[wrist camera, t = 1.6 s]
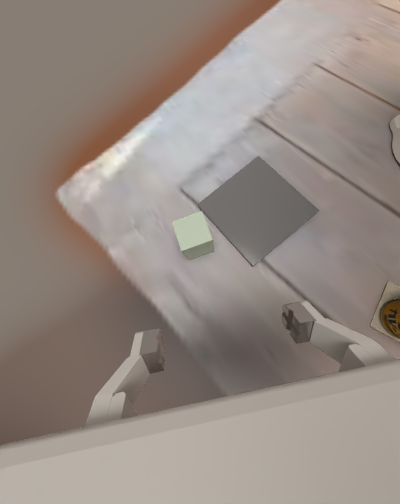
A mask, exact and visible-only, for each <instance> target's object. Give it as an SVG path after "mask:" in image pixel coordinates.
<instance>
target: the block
mask: <svg viewBox="0 0 400 504" xmlns="http://www.w3.org/2000/svg"><path fill="white" fill-rule="evenodd" d="M172 224H173V227H174V230H175V233H176V236H177V239H178V242H179V246H180V249H181V251H182V252H183V253H184V255H185V256H186V257H187V258H188V259H189V260H191V259H194V258H196V257H199V256H202V255H205V254H208V253H210V252H213V251H214V246H213V239H212V236H211V233H210V231H209V228H208V225H207V223H206V220H205V217H204V215H203V212H202V211H200V212H197V213H194V214H191V215H189V216H186V217H183V218H180V219H178V220H175V221H172Z"/></svg>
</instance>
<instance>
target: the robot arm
mask: <svg viewBox="0 0 400 504" xmlns="http://www.w3.org/2000/svg"><path fill="white" fill-rule="evenodd" d="M390 128H391V131H392V133H393V141H392V149H393V153H394V155H395V158H396V159H397V161H398V162H399V164H400V114H399V115H397V116H396V117H395V118H393V119H392V120H391V121H390ZM282 309H283V311H284V312H283V313H282V322H283V324H284V326H285V328H286V329H288V330H289V331H290V335H291V337H292V338H293V340H294V341H295V342H296V344H297V343H303V342H309V341H310V343H311V344H313V345H314V346H316V347H317V348H319V349H320V350H322V351H323V352H325V353H326V354H327V355H329V356H330V357H332V358H333V359H335V360H336V361H338V362H339V363H340V364H341V367H340V370H339V372H338V373H333V374H328V375H324V376H319V377H314V378H310V379H305V380H300V381H296V382H291V383H287V384H282V385H277V386H273V387H268V388H263V389H259V390H254V391H249V392H245V393H240V394H235V395H231V396H226V397H222V398H217V399H213V400H208V401H203V402H199V403H194V404H190V405H185V406H180V407H175V408H171V409H166V410H161V411H157V412H152V413H148V414H143V415H138V414H137V412H136V411H135V409H134V407H133V404H134V402H135V401H136V399H137V397H138V395H139V394H140V392H141V390H142V388H143V386H144V385H145V383H146V381H147V379H148V378H149V376H150V374H151V373H156V372H160V371H164V361H165V360H164V356H163V355H164V353H165V342H164V338H163V336H162V332H161V329H154V330H148V331H143V332H137V333H136V334H135V337H134V341H133V345H132V350H131V354H130V357H129V358H127V359H126V360H125V361H124V362H123V364H122V365H121V366H120V367H119V368H118V370H117V371H116V372H115V373H114V374H113V376H112V377H111V378H110V379H109V381H108V382H107V383H106V384H105V386H104V387H103V388H102V389H101V390H100V391H99V393H98V394H97V395H96V396H95V399H94V402H93V404H92V407H91V410H90V413H89V416H88V419H87V422H86V425H85V427H82V428H77V429H73V430H68V431H64V432H59V433H54V434H49V435H45V436H40V437H36V438H31V439H27V440H21V441H16V442H12V443H7V444H4V445H2V446H0V504H400V359H398V360H396V359H395V358H393V357H392V356H391V355H390V354H389V353H388V352H387V351H386V350H385V349H383V348H382V347H381V346H380V345H379V344H378V343H377V342H376V341H374V340H373V339H371V338H369V337H367V336H364V335H362V334H360V333H358V332H356V331H354V330H351V329H349V328H347V327H345V326H343V325H340V324H338V323H336V322H334V321H332V320H329V319H325V318H324V317H323V316H322V315H321V314H320V313H319V312H318V311H317V310H316V309H315V308H314V307H313V306H312V305H311V304H310V303H309V302H308V301H300V302H295V303H290V304H285V305H283V308H282Z"/></svg>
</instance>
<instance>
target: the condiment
mask: <svg viewBox="0 0 400 504" xmlns="http://www.w3.org/2000/svg"><path fill="white" fill-rule="evenodd" d="M396 297H398V298H396ZM394 298H396V299H394ZM370 327H372V328H374V329H376V330H378V331H380V332H382V333H383V334H385V335H387V336H389V337H391V338H393V339H395V340H397V341H399V342H400V286H398V285H396V284H394V283H392V282H390V281H388V282H387V285H386V287H385V291H384V293H383V295H382V298H381V300H380V302H379V304H378V306H377V309H376V311H375V314H374V316H373V319H372V321H371V324H370Z"/></svg>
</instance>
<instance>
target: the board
mask: <svg viewBox="0 0 400 504" xmlns="http://www.w3.org/2000/svg"><path fill="white" fill-rule="evenodd" d="M198 207H199V208H200V209H201V210H202V211H203V212H204V214H205V215H206V216H207V217H208V218H209V219H210V220H211V221H212V222H213V224H214V225H215V226H216V227H217V228H218V229H219V230H220V231H221V232H222V234H223V235H224V236H225V237H226V238H227V239H228V240H229V241H230V242H231V243H232V245H233V246H234V247H235V248H236V249H237V250H238V251H239V252H240V253H241V255H242V256H243V257H244V258H245V259H246V260H247V261H248V262H249V263H250V265H251V266H252V267H253V266H254V265H255V264H256V263H258V262H259V261H260V260H261V259H262V258H263V257H265V256H266V255H267V254H268V253H269V252H271V251H272V250H273V249H274V248H275V247H277V246H278V245H279V244H280V243H281V242H283V241H284V240H285V239H286V238H287V237H288V236H290V235H291V234H292V233H293V232H294V231H296V230H297V229H298V228H299V227H300V226H302V225H303V224H304V223H305V222H306V221H307V220H309V219H310V218H311V217H312V216H313V215H315V214H316V213H317V212H318V211H319V210H318V209H317V208H316V207H315V206H314V205H312V204H311V203H310V202H309V201H308V200H307V199H306V198H305V197H304V196H302V195H301V194H300V193H299V192H298V191H297V190H296V189H295V188H294V187H292V186H291V185H290V184H289V183H288V182H287V181H286V180H285V179H284V178H282V177H281V176H280V175H279V174H278V173H277V172H276V171H275V170H274V169H272V168H271V167H270V166H269V165H268V164H267V163H266V162H265V161H264V160H262V159H261V158H260V157H259V156H258V157H257V158H255V159H254V160H253V161H251V162H250V163H249V164H248V165H246V166H245V167H244V168H243V169H241V170H240V171H239V172H238V173H236V174H235V175H234V176H233V177H231V178H230V179H229V180H228V181H226V182H225V183H224V184H223V185H221V186H220V187H219V188H218V189H216V190H215V191H214V192H213V193H211V194H210V195H209V196H208V197H206V198H205V199H204V200H202V201H201V202H200V203H199V204H198Z"/></svg>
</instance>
